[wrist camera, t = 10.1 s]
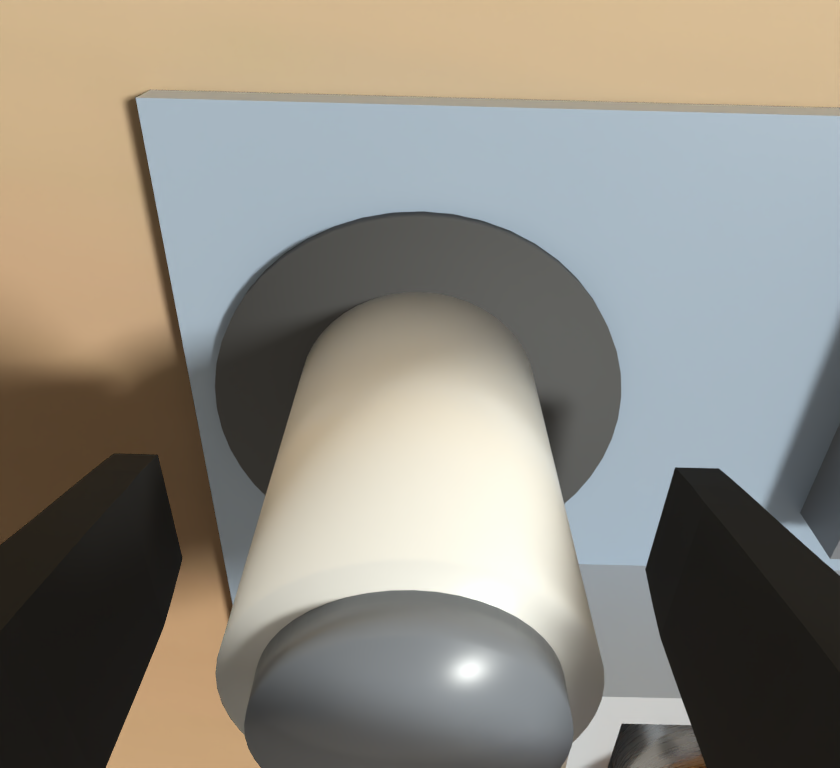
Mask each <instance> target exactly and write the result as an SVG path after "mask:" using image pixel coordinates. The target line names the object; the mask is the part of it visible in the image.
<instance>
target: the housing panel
mask: <svg viewBox="0 0 840 768" xmlns="http://www.w3.org/2000/svg"><path fill="white" fill-rule="evenodd" d="M136 102H137V108H138V113H139V118H140V123H141V129H142V134H143V139H144V144H145V149H146V155H147V160H148V165H149V170H150V176H151V181H152V186H153V191H154V196H155V202H156V207H157V212H158V217H159V223H160V228H161V233H162V238H163V243H164V249H165V254H166V259H167V264H168V270H169V275H170V280H171V285H172V290H173V296H174V301H175V306H176V311H177V317H178V322H179V327H180V332H181V337H182V343H183V348H184V353H185V358H186V364H187V369H188V374H189V379H190V384H191V390H192V395H193V400H194V405H195V411H196V416H197V421H198V426H199V431H200V437H201V442H202V447H203V452H204V458H205V463H206V468H207V473H208V478H209V484H210V489H211V494H212V499H213V505H214V510H215V515H216V520H217V525H218V531H219V536H220V541H221V546H222V552H223V557H224V562H225V567H226V572H227V578H228V583H229V588H230V593H231V599H232V604H233V603H234V600H235V597H236V593H237V590H238V587H239V583H240V580H241V576H242V573H243V570H244V566H245V563H246V560H247V556H248V553H249V549H250V546H251V543H252V539H253V536H254V533H255V529H256V526H257V523H258V519H259V516H260V512H261V509H262V506H263V502H264V499H265V495H264V494H263V493H262V492H261V491H260V490H259V489H258V488H257V487H256V486H255V485H254V483H253V482H252V481H251V480H250V478H249V477H248V476H247V475H246V473H245V472H244V471H243V469H242V468H241V466H240V465H239V463H238V461H237V460H236V458H235V456H234V455H233V453H232V451H231V450H230V447H229V445H228V442H227V440H226V438H225V435H224V433H223V430H222V427H221V423H220V419H219V415H218V411H217V405H216V394H215V376H216V363H217V359H218V355H219V351H220V346H221V342H222V339H223V337H224V335H225V332H226V330H227V327H228V325H229V323H230V320H231V318H232V316H233V314H234V312H235V310H236V309H237V307H238V306H239V304H240V302H241V301H242V299H243V298H244V296H245V294H246V293H247V291H248V290H249V288H250V287H251V286H252V285H253V284H254V283H255V281H256V280H257V279H258V278H259V277H260V276H261V274H262V273H263V272H264V271H265V270H266V269H267V268H268V267H269V266H271V265H272V264H273V263H274V262H275V261H276V260H278V259H279V258H280V257H281V256H282V255H283V254H284V253H286V252H287V251H289V250H291V249H292V248H294V247H295V246H297V245H298V244H300V243H302V242H303V241H305V240H306V239H308V238H310V237H312V236H314V235H316V234H318V233H321V232H323V231H325V230H327V229H329V228H331V227H334V226H336V225H340V224H343V223H346V222H350V221H353V220H356V219H359V218H363V217H368V216H374V215H380V214H386V213H392V212H418V211H425V212H436V213H447V214H455V215H460V216H464V217H469V218H473V219H478V220H482V221H485V222H488V223H491V224H493V225H496V226H499V227H502V228H504V229H507V230H510V231H512V232H514V233H516V234H518V235H520V236H521V237H523V238H525V239H527V240H529V241H531V242H533V243H535V244H536V245H538V246H539V247H541V248H542V249H543V250H545V251H546V252H548V253H549V254H550V255H552V256H553V257H555V258H556V259H557V260H559V261H560V262H561V263H562V264H563V265H564V266H565V267H566V268H567V269H568V270H569V271H570V272H571V273H572V274H573V275H574V276H575V277H576V278H577V279H578V280H579V281H580V283H581V284H582V285H583V286H584V288H585V289H586V290H587V292H588V293H589V294H590V296H591V297H592V298H593V300H594V302H595V303H596V305H597V307H598V309H599V311H600V312H601V314H602V316H603V318H604V320H605V322H606V324H607V326H608V328H609V331H610V334H611V336H612V339H613V342H614V345H615V348H616V350H617V355H618V361H619V366H620V372H621V402H620V409H619V416H618V421H617V424H616V427H615V430H614V434H613V437H612V440H611V442H610V444H609V446H608V448H607V450H606V452H605V455H604V457H603V459H602V460H601V462H600V463H599V465H598V466H597V468H596V469H595V471H594V472H593V474H592V475H591V477H590V478H589V479H588V480H587V481H586V483H585V484H584V485H583V486H582V487H581V488H580V489H579V491H578V492H577V493H576V494H575V495H574V496H573V497H571V498H570V499H569V500H568V501H567V502H566V503H565V504H564V505H565V509H566V513H567V518H568V522H569V526H570V530H571V534H572V538H573V542H574V547H575V551H576V555H577V559H578V563H579V567H580V571H581V576H582V580H583V584H584V588H585V592H586V596H587V600H588V605H589V609H590V613H591V617H592V621H593V625H594V629H595V634H596V638H597V642H598V646H599V650H600V654H601V658H602V663H603V667H604V682H605V684H604V690H603V696H602V700H601V703H600V705H599V707H598V710H597V712H596V714H595V716H594V718H593V719H592V721H591V722H590V724H589V725H588V727H587V728H586V729H585V730H584V731H583V733H582V734H581V735H580V736H579V737H578V738H577V739H576V740H575V741H574V742H573V743H572V747H571V749H570V752H569V754H568V757H567V759H566V760H565V762H564V763H563V765H562V766H561V768H613V765H612V760H611V755H612V752H613V749H614V746H615V743H616V740H617V736H618V733H619V730H620V727H621V724H663V725H691V723H690V721H689V718H688V715H687V712H686V709H685V707H684V704H683V701H682V698H681V696H680V693H679V690H678V687H677V684H676V681H675V679H674V676H673V673H672V670H671V667H670V664H669V662H668V659H667V656H666V653H665V650H664V647H663V644H662V641H661V638H660V634H659V630H658V626H657V622H656V617H655V613H654V609H653V605H652V600H651V595H650V590H649V585H648V580H647V576H646V571H645V568H646V565H647V562H648V558H649V555H650V551H651V548H652V545H653V541H654V538H655V534H656V531H657V527H658V524H659V521H660V517H661V514H662V510H663V507H664V504H665V500H666V497H667V493H668V490H669V486H670V483H671V480H672V476H673V473H674V469H675V467H680V468H719V469H720V470H721V471H723V472H724V473H725V474H726V475H727V476H729V477H730V478H731V479H732V480H733V481H734V482H736V483H737V484H738V485H739V486H740V487H741V488H742V489H743V490H745V491H746V492H747V493H748V494H749V495H750V496H751V497H752V498H753V499H755V500H756V501H757V502H758V503H759V504H760V505H761V506H762V507H763V508H764V509H766V510H767V511H768V512H769V513H770V514H771V515H772V516H773V517H774V518H775V519H777V520H778V521H779V522H780V523H781V524H782V525H783V526H784V527H785V528H787V529H788V530H789V531H790V532H791V533H792V534H793V535H794V536H795V537H797V538H798V539H799V540H800V541H801V542H802V543H803V544H804V545H805V546H807V547H808V548H809V549H810V550H811V551H812V552H813V553H814V554H816V555H817V556H818V557H819V558H820V559H821V560H822V561H823V562H825V563H826V564H827V565H828V566H829V567H830V568H832V569H833V570H834V571H835V572H836V573H837V574H838V575H840V108H828V107H790V106H752V105H714V104H676V103H637V102H599V101H561V100H523V99H484V98H446V97H408V96H370V95H332V94H293V93H255V92H217V91H179V90H149V91H147V92H145V93H143V94H142V95H140V96H138V97H136Z"/></svg>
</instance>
